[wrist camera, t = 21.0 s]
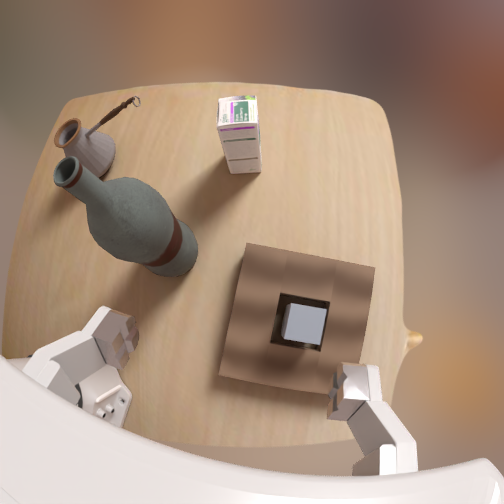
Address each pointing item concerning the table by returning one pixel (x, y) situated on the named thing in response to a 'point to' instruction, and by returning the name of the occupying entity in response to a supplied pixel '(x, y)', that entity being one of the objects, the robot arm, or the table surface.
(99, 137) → the coffee pot
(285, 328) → the peg
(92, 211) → the bottle
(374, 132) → the table surface
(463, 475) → the robot arm
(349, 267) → the socket block
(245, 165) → the syrup box
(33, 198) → the table surface
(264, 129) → the table surface
